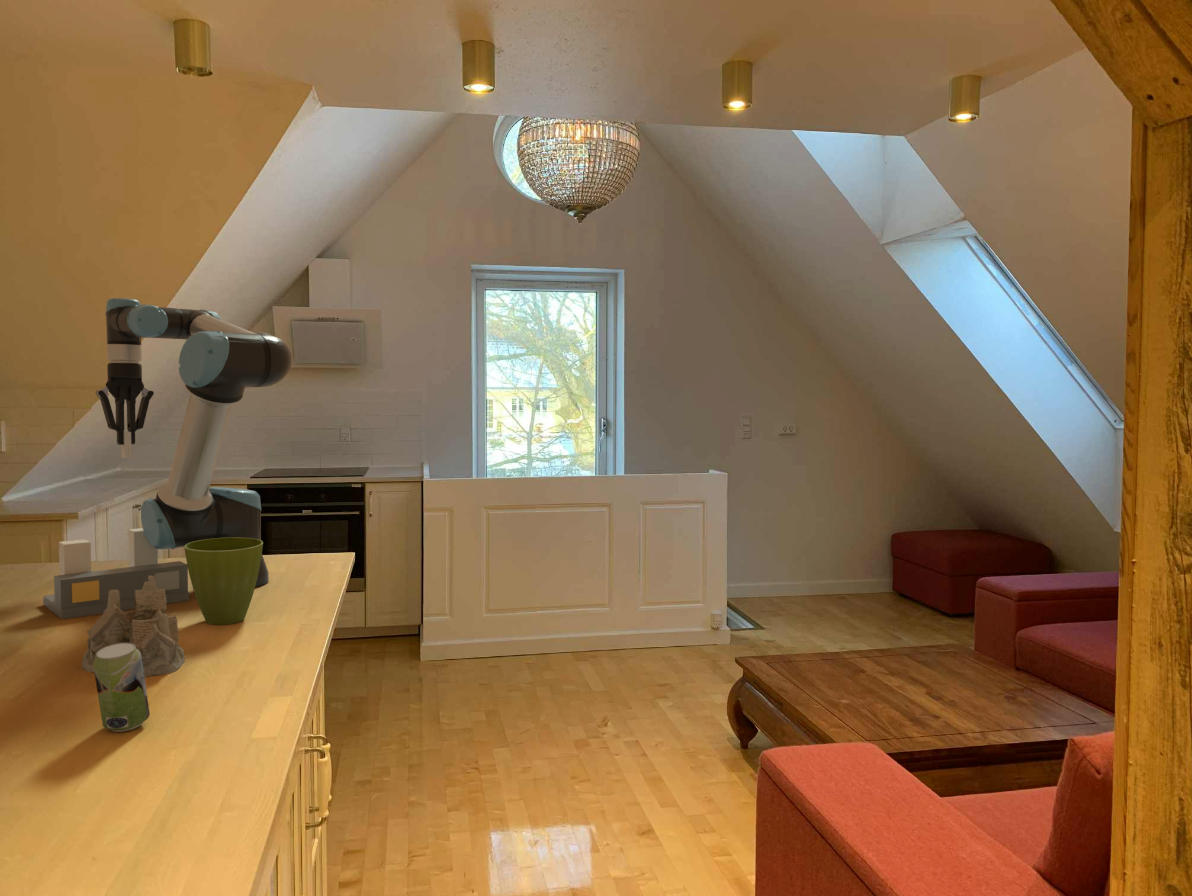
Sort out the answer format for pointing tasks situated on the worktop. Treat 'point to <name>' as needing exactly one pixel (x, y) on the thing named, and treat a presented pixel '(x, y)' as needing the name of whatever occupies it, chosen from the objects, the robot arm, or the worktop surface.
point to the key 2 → (141, 549)
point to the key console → (114, 588)
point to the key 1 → (74, 557)
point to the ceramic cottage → (139, 631)
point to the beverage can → (121, 687)
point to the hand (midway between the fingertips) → (126, 457)
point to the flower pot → (224, 576)
